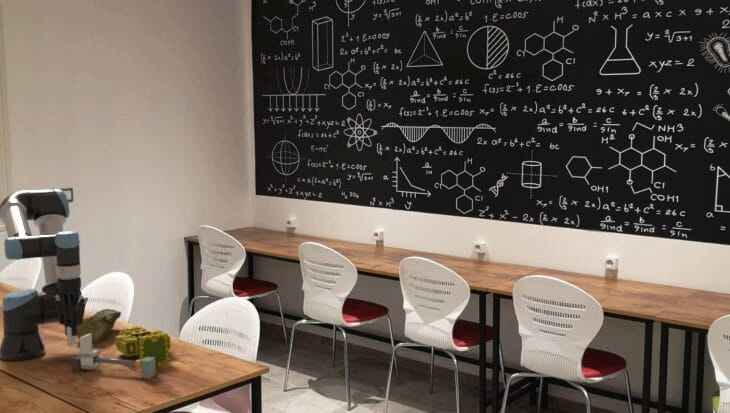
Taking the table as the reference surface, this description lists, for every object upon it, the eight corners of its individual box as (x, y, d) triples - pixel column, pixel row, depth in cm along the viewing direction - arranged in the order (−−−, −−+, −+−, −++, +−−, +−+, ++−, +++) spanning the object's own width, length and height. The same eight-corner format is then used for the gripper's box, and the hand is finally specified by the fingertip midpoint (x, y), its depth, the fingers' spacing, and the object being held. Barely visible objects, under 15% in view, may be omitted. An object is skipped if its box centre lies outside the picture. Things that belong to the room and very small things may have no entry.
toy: (151, 319, 289) (177, 332, 264) (152, 345, 290) (179, 361, 265) (107, 325, 280) (129, 340, 255) (108, 352, 280) (131, 369, 255)
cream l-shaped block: (80, 368, 252) (79, 337, 250) (90, 363, 257) (89, 333, 256) (91, 369, 251) (90, 338, 250) (100, 364, 256) (99, 334, 254)
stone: (115, 344, 284) (126, 317, 308) (104, 317, 281) (117, 292, 305) (77, 354, 284) (92, 327, 307) (66, 327, 280) (82, 302, 304)
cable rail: (71, 371, 252) (70, 354, 252) (82, 366, 258) (81, 349, 257) (147, 379, 245) (147, 362, 245) (157, 373, 251) (156, 356, 250)
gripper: (45, 278, 250) (48, 346, 253) (78, 280, 247) (81, 349, 249) (59, 273, 257) (62, 340, 260) (92, 275, 254) (95, 343, 256)
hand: (71, 344), depth 254 cm, fingers closed
